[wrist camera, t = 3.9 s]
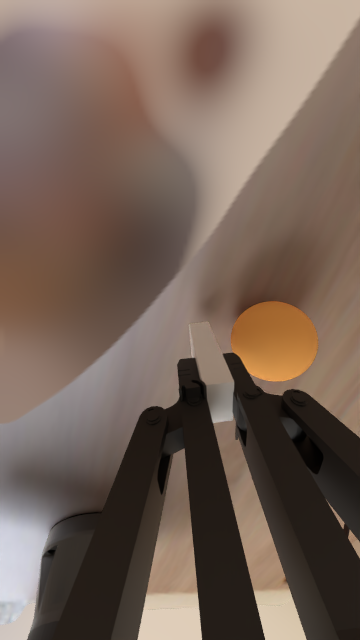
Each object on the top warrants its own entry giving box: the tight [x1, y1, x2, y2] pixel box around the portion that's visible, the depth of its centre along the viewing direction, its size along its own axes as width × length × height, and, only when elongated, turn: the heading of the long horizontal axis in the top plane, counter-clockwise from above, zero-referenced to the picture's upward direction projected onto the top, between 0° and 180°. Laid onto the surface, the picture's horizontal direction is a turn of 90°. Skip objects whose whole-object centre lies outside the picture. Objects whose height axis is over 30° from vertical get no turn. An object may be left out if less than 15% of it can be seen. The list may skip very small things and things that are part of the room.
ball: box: [231, 301, 318, 381], centre depth 16 cm, size 6×6×6 cm
